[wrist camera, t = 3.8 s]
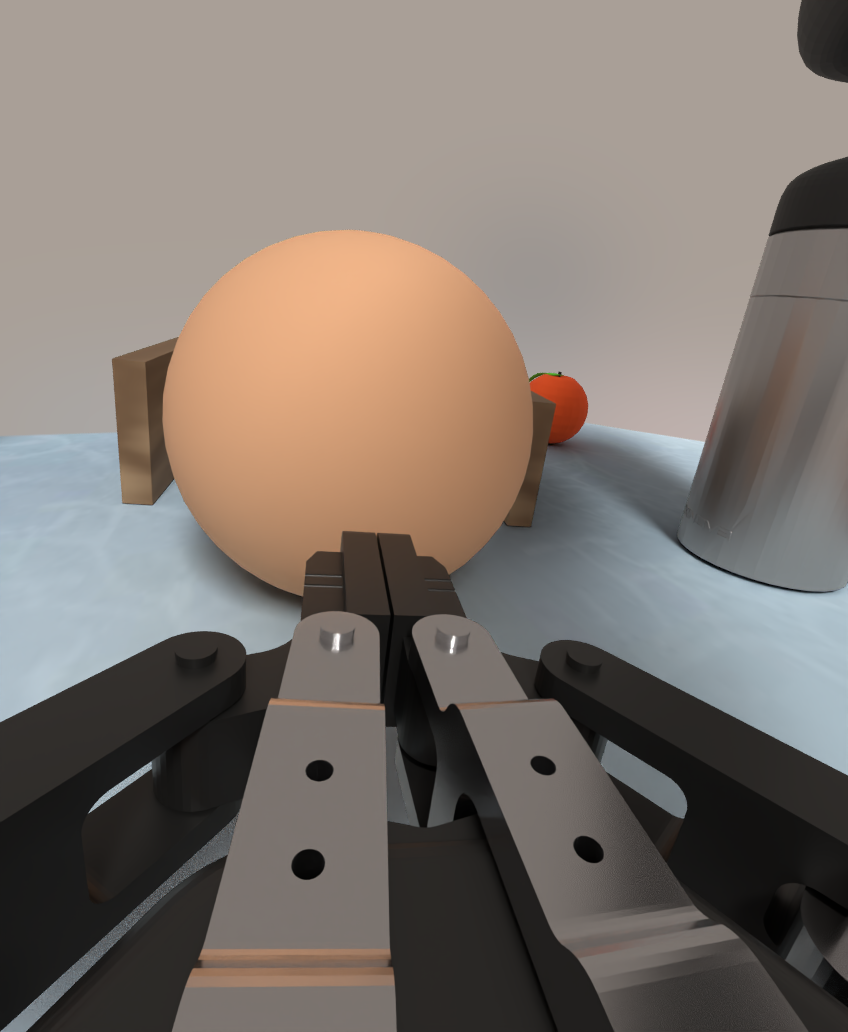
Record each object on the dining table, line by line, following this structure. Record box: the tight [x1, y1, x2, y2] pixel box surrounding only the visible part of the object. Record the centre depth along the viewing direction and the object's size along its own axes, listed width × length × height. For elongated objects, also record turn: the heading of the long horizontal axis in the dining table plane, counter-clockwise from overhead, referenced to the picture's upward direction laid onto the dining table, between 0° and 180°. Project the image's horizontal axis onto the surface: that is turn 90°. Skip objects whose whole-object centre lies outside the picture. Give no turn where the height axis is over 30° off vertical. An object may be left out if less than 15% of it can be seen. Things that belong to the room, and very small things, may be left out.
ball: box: [162, 230, 533, 596], centre depth 23 cm, size 14×14×14 cm
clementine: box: [529, 372, 588, 444], centre depth 57 cm, size 8×7×7 cm
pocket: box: [112, 337, 556, 527], centre depth 37 cm, size 23×14×8 cm, turn 99°
